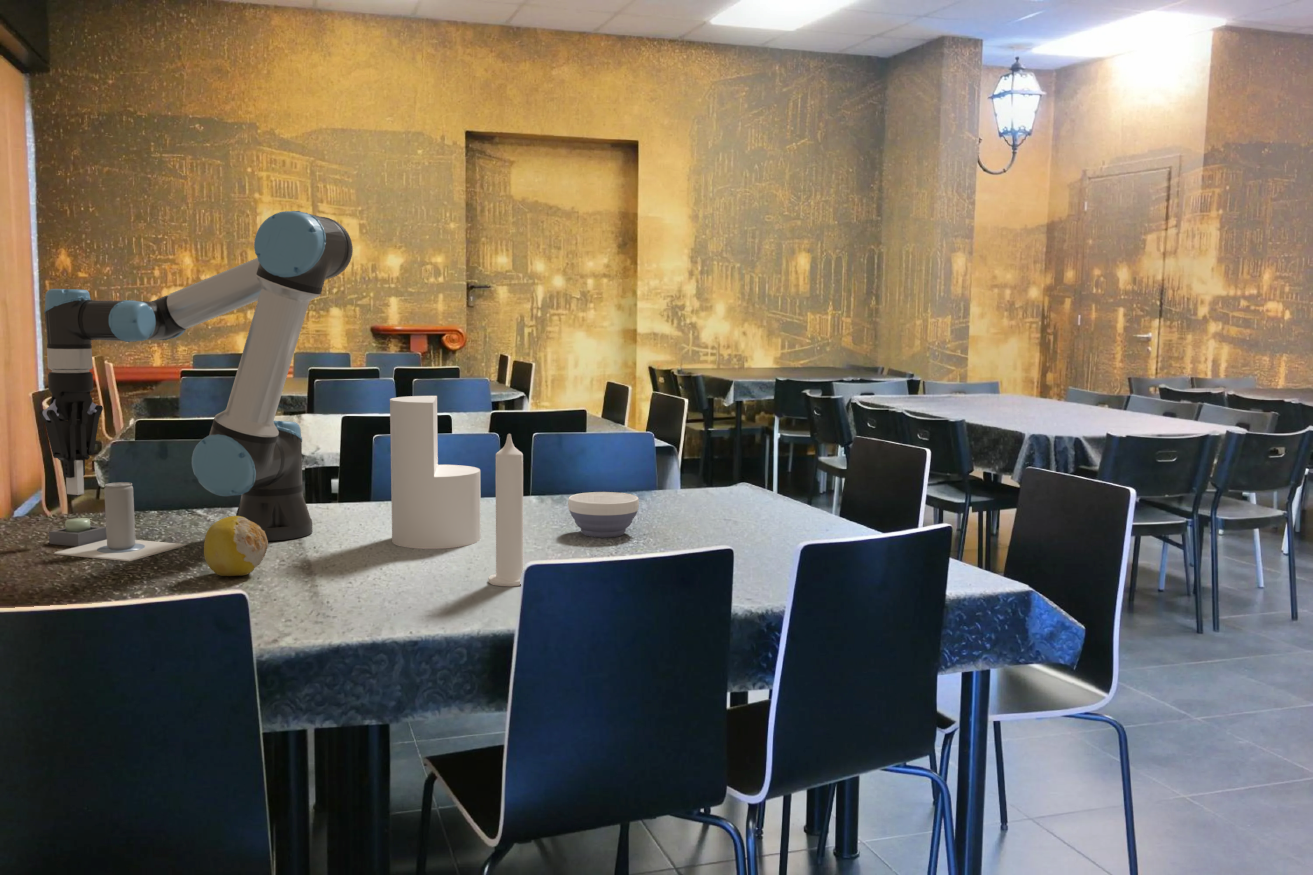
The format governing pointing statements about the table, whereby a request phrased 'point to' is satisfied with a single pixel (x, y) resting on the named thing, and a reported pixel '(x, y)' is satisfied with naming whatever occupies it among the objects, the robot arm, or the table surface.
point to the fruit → (234, 546)
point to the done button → (77, 525)
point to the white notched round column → (429, 482)
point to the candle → (509, 516)
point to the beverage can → (119, 515)
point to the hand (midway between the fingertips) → (75, 493)
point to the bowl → (603, 512)
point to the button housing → (77, 536)
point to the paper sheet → (136, 552)
